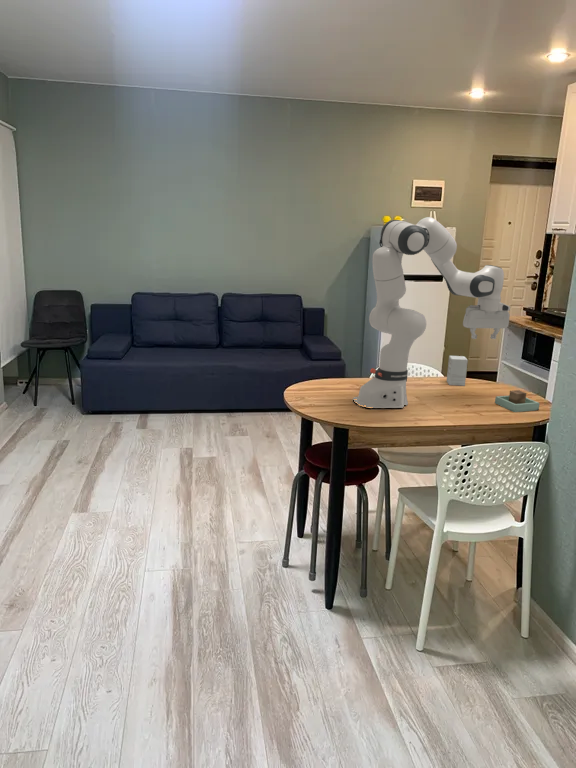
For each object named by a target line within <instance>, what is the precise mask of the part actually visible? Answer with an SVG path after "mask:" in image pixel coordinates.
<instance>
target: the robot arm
mask: <svg viewBox="0 0 576 768" xmlns="http://www.w3.org/2000/svg"><path fill="white" fill-rule="evenodd" d="M379 246H380V247H378V248H377V249H376V250H374V251H373V253H372V272H373V273H372V275H373V279H374V284H375V291H376V304H375V306H374V307H373V308H372V309H371V311H370V313H369V317H368V320H369V321H368V322H369V325H370V327H372V328H373V329H375V330H376V331H378V332H381V333H384V334H389V335H391V338H390V340H389V342H388V343H387V344H385V345H384V346H383V347H381V349H380V353H379V364H378V365H379V366H378V368H377V369H375V368H373V367H372V368H371V369H370V370H369V371H370V373H371V374H373V375H374V377H372V378H371V379H370V380H368V381H367V382H365V383H364V384H363V385H361V386H360V388H359V393H358V396H354V397H352V401H353V400H354V399H357V400H354V401H355V402H357V403H358V404H360V405H363V406H364V405H366V407H373V408H403V407H404V408H405V406H404V405H406V406H408V404H409V403H408V396H407V381H408V373H409V370H408V361H409V357H410V355H409V354H410V350H411V347H412V345H413V344H414V342H415V341H416V340H417V339H418V338H420V337H421V336H422V335H423V334H424V332H425V331H426V328H427V319H426V316H425V315H424V314H423V313H420V312H419V311H417V310H414V309H410V308H405V307H401V306H400V300H401V299H402V298H403V297H404V296H405V294H406V292H407V287H406V282H405V277H404V275H405V274H404V269H403V264H402V260H403V257H404V255H407V256H415V255H417V254H419V253H421V252H423V251H424V252H425V253H426V254H427V256H428V257H429V258H430V261H431V263H433V265H434V267H435V268H436V270H438V272H439V273H440V275H441V276H442V277H443V279H444V281H445V284H446V287H447V289H448V291H449V292H450V294H452V295H454V296H464V297H468V298H469V297H470V298H475V299H476V298H477V304H476V305H473V304H470V305H469V306H467V307H466V308H465V314H464V317H463V321H462V326H463V327H464V328H467V329H469V331H470V334H471V336H470V337H471V339H472V340H477V338H478V334H476V331H477V329H493V332H492V333H491V334H490V339H492V340H496V339H497V335H498V334H499V333H500V331H501V330H500V329H507V328H508V327H509V324H510V310H511V306H510V305H507V304H506V303H504V302H501V301H502V297H501V294H502V291H503V287H504V281H505V280H504V279H505V277H504V276H505V273H504V269H503V268H502V267H500V266H498V265H491V264H486V265H484V267H483V268H481V269H480V270H478V271H475V272H469V271H463V270H460V269H458V268H457V266H456V265H455V264H454V262H453V261H452V259H453V257H454V256H455V254H456V253H457V248H458V245H457V241H456V239H455V238H454V237H453V235H452V234H451V233H450V231H449V230H448V229H447V228H446V227H445V226H444V225H443V224H442V223H440V222H439V220H437V219H435V218H434V217H431V216H427V217H424V218H421V219H420V220H419V221H417V223H416V224H414V223H411V222H408V221H405V220H400V219H392V220H389V221H387V222H385V223H384V225H382V228H381V231H380V239H379ZM404 408H403V409H404Z"/></svg>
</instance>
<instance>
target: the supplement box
mask: <svg viewBox="0 0 576 768" xmlns="http://www.w3.org/2000/svg"><path fill="white" fill-rule="evenodd" d="M468 362H469V359H467V357H466V356H463V355H460V356H459V355H448V363H447V365H448V366H447V374H446V383H447V384H448V385H449V386H458V387H459V386H462V387H465V386H466V380H467V379H466V378H467V368H468Z"/></svg>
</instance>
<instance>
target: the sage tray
mask: <svg viewBox="0 0 576 768" xmlns="http://www.w3.org/2000/svg"><path fill="white" fill-rule="evenodd" d="M495 403H496V404H495ZM494 404H495V405H497V404H498V406H499V405H500V407H502V408H504V409H506V410H507V411H508V410H509V411H511V412H513V413H520V412H522V413H523V412H531V411H532V412H533V411H539V410H540V404H541V403H540V402H539V401H536V400H533V399H531V398H528V397H526V400H525V403H523V404H514V403H512V402H510V401H509V395H499V396H498V395H496V396H495V399H494Z"/></svg>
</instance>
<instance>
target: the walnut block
mask: <svg viewBox="0 0 576 768" xmlns="http://www.w3.org/2000/svg"><path fill="white" fill-rule="evenodd" d="M508 396H509V401H510V402H512V403H514V404H523V403H525V400H526V398H527V392H524V391H522V390H520V389H516V390H509V394H508Z"/></svg>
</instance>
